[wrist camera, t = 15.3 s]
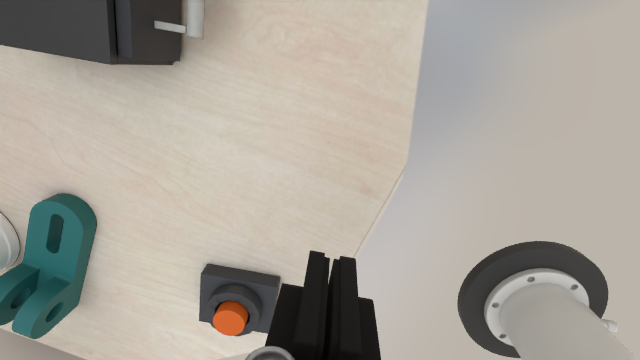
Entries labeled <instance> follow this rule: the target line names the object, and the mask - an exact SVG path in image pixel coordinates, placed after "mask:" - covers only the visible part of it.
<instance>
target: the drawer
mask: <svg viewBox="0 0 640 360" xmlns="http://www.w3.org/2000/svg"><path fill="white" fill-rule="evenodd" d="M113 3H114V19H115V36H116V46H118V57H122V58H128V59H138V60H167V61H180V33H185V34H186V35H187V36H188V37H193V38H199V39H203V38H204V6H205V0H187V22H186V26H183V25H180V0H113Z"/></svg>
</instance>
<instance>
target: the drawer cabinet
mask: <svg viewBox="0 0 640 360" xmlns="http://www.w3.org/2000/svg"><path fill="white" fill-rule="evenodd" d="M0 45H4V46H10V47H15V48H21V49H27V50H32V51H38V52H43V53H49V54H54V55H60V56H66V57H71V58H77V59H82V60H88V61H94V62H99V63H105V64H110V65H117V64H120V65H173V61H167V60H138V59H128V58H122V57H118V46H116V36H115V19H114V3H113V0H0Z"/></svg>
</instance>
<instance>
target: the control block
mask: <svg viewBox="0 0 640 360" xmlns="http://www.w3.org/2000/svg"><path fill="white" fill-rule="evenodd" d="M279 282H280V277H278V276H272V275H267V274H261V273H256V272H250V271H245V270H239V269H234V268H228V267H223V266H217V265H212V264H207V266H206V267H205V268H204V270H203V271H202V273H201V285H200V313H199V321H202V322H208V323H210V324H211V325H212V326H213V327H214V324H213V317H214V315H215V313H216V311H217V309H218V307H219V306H220V304H222V303H223V302H225V301H236V302H239V303H241V304H242V305H243V306H245V307H246V309H247V311H248V319H247V322H246V324H245V327H244V329H243V331H242V332H241V333H239V334H237V335H233V336H241V335H245V334H249V333H251V332H252V331H257V332H262V333H269V329H270V326H271V322H272V318H273V315H274V311H275V308H276V303H277V296H278V289H279ZM214 328H215V327H214ZM215 329H216V328H215Z"/></svg>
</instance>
